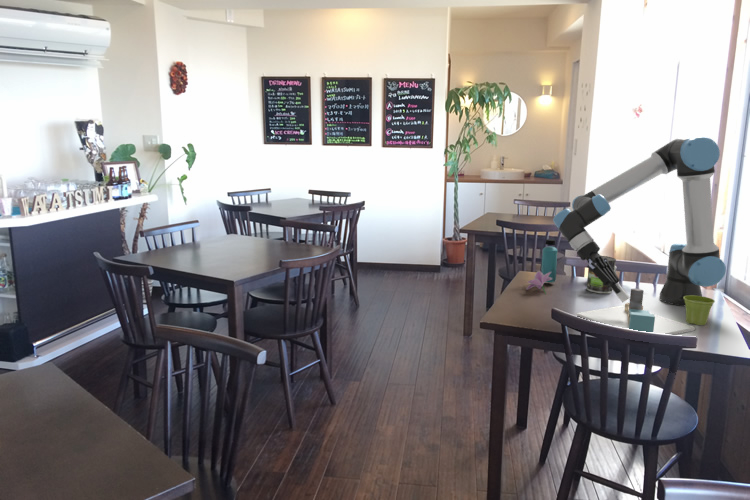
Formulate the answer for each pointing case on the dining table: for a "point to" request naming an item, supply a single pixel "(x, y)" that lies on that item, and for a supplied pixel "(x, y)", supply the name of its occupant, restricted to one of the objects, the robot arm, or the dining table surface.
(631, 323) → the block
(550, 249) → the beverage bottle
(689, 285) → the robot arm
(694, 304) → the plant pot
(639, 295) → the link
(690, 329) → the base board
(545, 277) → the lily
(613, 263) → the coffee can
